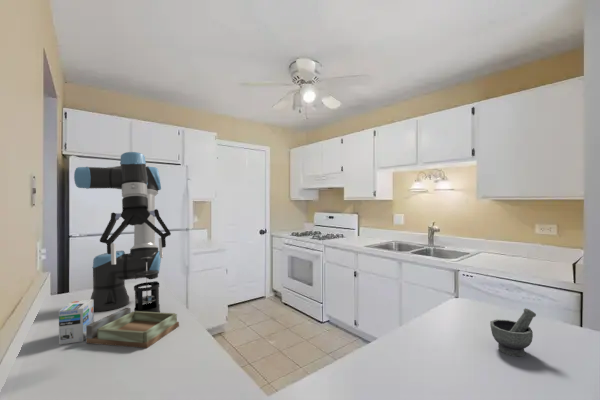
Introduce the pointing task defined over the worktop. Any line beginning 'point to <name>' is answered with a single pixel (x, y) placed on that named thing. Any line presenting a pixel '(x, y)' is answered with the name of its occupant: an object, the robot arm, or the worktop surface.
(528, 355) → the worktop surface
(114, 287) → the robot arm
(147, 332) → the wooden drawer tray
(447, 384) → the worktop surface
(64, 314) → the light bulb box
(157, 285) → the french press
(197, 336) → the worktop surface
